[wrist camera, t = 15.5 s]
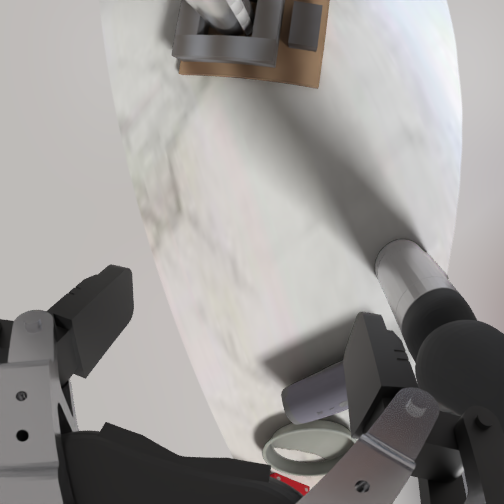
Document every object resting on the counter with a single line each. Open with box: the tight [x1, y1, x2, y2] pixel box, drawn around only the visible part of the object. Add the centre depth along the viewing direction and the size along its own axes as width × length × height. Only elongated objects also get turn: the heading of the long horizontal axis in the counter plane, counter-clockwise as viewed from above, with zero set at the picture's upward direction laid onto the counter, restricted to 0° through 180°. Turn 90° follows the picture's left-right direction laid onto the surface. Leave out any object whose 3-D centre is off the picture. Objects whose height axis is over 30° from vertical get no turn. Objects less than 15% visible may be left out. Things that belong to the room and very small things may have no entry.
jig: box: [172, 0, 330, 89], centre depth 37 cm, size 21×18×6 cm
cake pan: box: [262, 420, 356, 477], centre depth 69 cm, size 25×25×4 cm
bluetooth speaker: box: [281, 361, 349, 425], centre depth 56 cm, size 23×9×10 cm, turn 125°
